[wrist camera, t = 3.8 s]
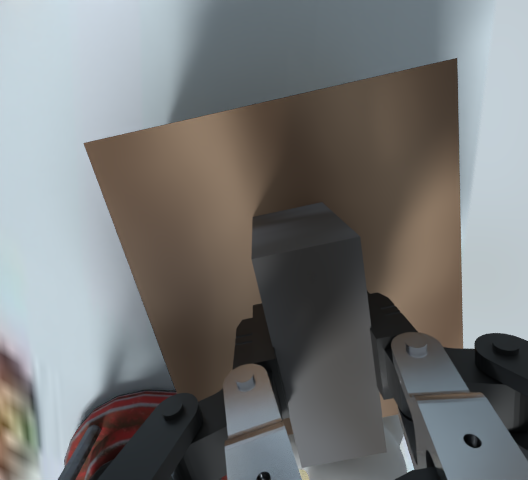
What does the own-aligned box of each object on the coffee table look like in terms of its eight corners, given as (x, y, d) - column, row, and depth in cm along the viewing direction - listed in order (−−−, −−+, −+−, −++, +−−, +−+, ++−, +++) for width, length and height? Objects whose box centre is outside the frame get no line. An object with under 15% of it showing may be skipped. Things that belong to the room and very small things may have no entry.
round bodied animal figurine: (280, 350, 29) (244, 414, 22) (414, 403, 26) (430, 502, 18) (265, 411, 31) (228, 490, 24) (389, 467, 28) (393, 581, 20)
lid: (204, 418, 19) (177, 571, 12) (108, 142, 14) (-27, 144, 7) (440, 372, 19) (548, 506, 12) (426, 70, 14) (597, 0, 7)
